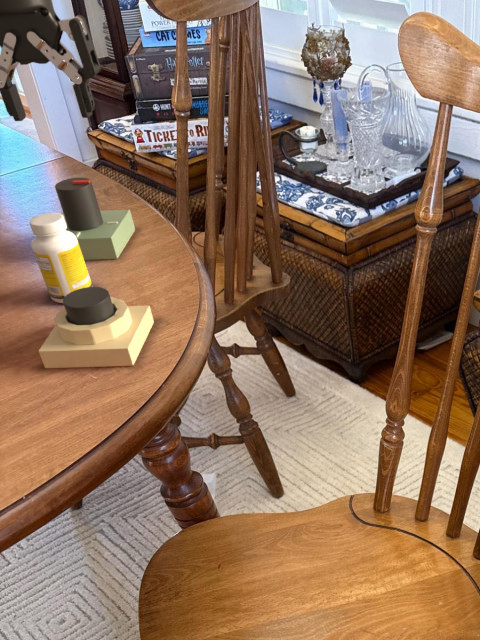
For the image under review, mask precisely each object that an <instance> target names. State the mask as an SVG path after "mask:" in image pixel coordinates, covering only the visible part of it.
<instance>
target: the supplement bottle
mask: <svg viewBox="0 0 480 640" xmlns="http://www.w3.org/2000/svg"><path fill="white" fill-rule="evenodd" d="M28 223H29V226H30V230H31V231H32V234H33V235H34V236H35V237H34V238H33V239H32V241H31V248H32V252H33V254H34V257H35V259H36V263H37V265H38V268H39V270H40V274H41V275H42V278H43V281H44V283H45V286H46V290H47V292H48V295H49V296H50V298H51V300H52V301H53V302H55V303H58V304H63V299H64V297H65V296H66V295H68V294H69V293H71V292H73V291H75V290H78V289H82V288H87V287H94V286H93V282H92V280H91V276H90V273H89V270H88V268H87V265H86V262H85V261H86V260H84V258H83V255H82V252H81V249H80V246H79V243H78V240H77V238H76V236H75V235H74V234H73V233H72V232H70V231H67V230H66V228H67V226H66V222H65V220H64V217H63V215H62V214H61V212H60V213H59V212H45V213H41V214H38V215H35V216H32V217H31V218H30V219H29V221H28Z"/></svg>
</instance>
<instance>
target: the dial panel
mask: <svg viewBox="0 0 480 640" xmlns="http://www.w3.org/2000/svg"><path fill="white" fill-rule="evenodd" d="M100 212H101V216H102V219H103V223H102V224H101V225H100V226H98V227H96V228H93V229H89V230H83V231H76V230H71V229H69V228H68V225H67V222H66V219H65V216H64V213H63V211H62V212H60V214H62V215H63V217H64V220H65V222H66V226H67V228H66V230H67V231H70V232H72V233H73V234H74V235H75V236H76V238H77V240H78V243H79V246H80V249H81V252H82V255H83V258H84V261H92V260H93V261H97V260H118V259H119V257H120V255H121V254H122V252H123V251H124V249H125V247H126V246H127V244H128V243H129V241H130V239H131V238H132V237H133V235H134V233H135V232H136V227H135V224H134V220H133V215H132V212H131V209H109V210H106V209H105V210H100Z"/></svg>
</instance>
